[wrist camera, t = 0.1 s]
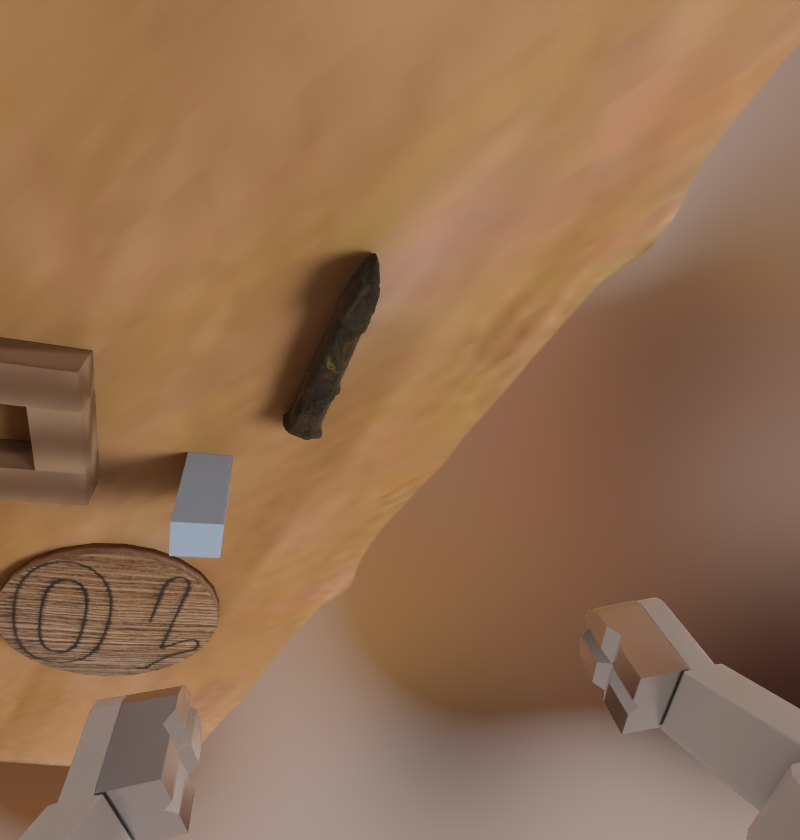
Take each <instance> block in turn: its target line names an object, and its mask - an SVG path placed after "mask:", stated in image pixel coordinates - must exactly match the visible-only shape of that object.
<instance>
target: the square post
mask: <svg viewBox="0 0 800 840" xmlns="http://www.w3.org/2000/svg"><path fill="white" fill-rule="evenodd" d="M232 461H233V456H226V455H215V454H205V453H194V452H188V454H187V458H186V462H185V466H184V470H183V474H182V478H181V482H180V486H179V490H178V494H177V498H176V502H175V506H174V510H173V514H172V518H171V522H170V545H169V556H183V557H211V558H220V553H221V546H222V538H223V531H224V523H225V516H226V508H227V501H228V493H229V486H230V478H231V469H232Z"/></svg>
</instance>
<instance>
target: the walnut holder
mask: <svg viewBox="0 0 800 840" xmlns="http://www.w3.org/2000/svg"><path fill="white" fill-rule="evenodd" d="M0 404H6V405H15V406H24V407H26V409H27V416H28V423H29V430H30V437H31V442H27V441H16V440H5V439H0V500H11V501H27V502H43V503H60V504H76V505H88V503H89V500H90V498H91V496H92V494H93V491H94V489H95V487H96V485H97V483H98V480H99V460H98V442H97V424H96V405H95V387H94V369H93V351H92V350H85V349H78V348H71V347H64V346H57V345H50V344H43V343H36V342H29V341H22V340H15V339H8V338H1V337H0Z"/></svg>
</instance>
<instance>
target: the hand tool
mask: <svg viewBox="0 0 800 840" xmlns="http://www.w3.org/2000/svg"><path fill="white" fill-rule="evenodd" d="M379 284H380V274H379V262H378V258H377V255H376V254H375V253H373V254H371V255H370V256H369V257H368V258H367V259H366V260H365V261H364V262H363V263H362V265H361V266H360V267H359V269H358V270H357V272H356V273H355V274H354V275H353V277H352V278H351V280H350V282H349V284H348V286H347V287H346V288H345V290H344V291H343V293H342V295H341V296H340V298H339V302H338V307H337V309H336V312H335V315H334V317H333V319H332V321H331V323H330V325H329V327H328V329H327V331H326V333H325V336H324V338H323V340H322V342H321V344H320V346H319V348H318V350H317V353H316V356H315V358H314V360H313V363H312V365H311V367H310V368H309V370H308V373H307V375H306V376H305V378H304V380H303V383H302V387H301V389H300V391H299V395H298V397H297V399H296V401H295V404H294V405H293V408H292V410H291V411H289V412H287V413H285V414H284V415H283V426H284V427H285V430H286V431H287V432H288V433H290V434H292V435H295V436H297V437H300V438H303V439H304V440H309V439H316V438H321V436H322V427H321V426H322V421H323V419H324V417H325V414H326V413H327V410H328V408H329V405H330V403H331V402H332V401H333V399H334V398H335V396H336V395H338V394H339V392H340V381H341V379H342V377H343V374H344V372H345V370H346V368H347V366H348V363H349V361H350V359H351V356H352V354H353V352H354V349H355V347H356V345H357V343H358V340H359V338H360V336H361V334H362V333H365V331H366V329H367V327H368V325H369V323H370V320H371V316H372V315H373V313H374V312H375V307H376V304H377V302H378V298H379V294H380V287H379Z"/></svg>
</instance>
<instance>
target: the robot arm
mask: <svg viewBox="0 0 800 840" xmlns="http://www.w3.org/2000/svg"><path fill="white" fill-rule="evenodd" d="M585 622H586V624H587V626H588V627H589V628H588V629H587V630H586V632H585V633H584V634H583V635H582V636H581V643H580V651H581V657H582V661H583V663H584V666H585V669H586V671H587V673H588V675H589V677H590V678H591V680H592V682H594V683H595V684H596V685H598V686H599V687H601V688H602V689H604V690H605V693H604V704H605V706H606V707H607V709H608V711H609V712H610V715H611V716H612V718H613V720H614V722H615V723H616V725H617V727H618V729H619V730H620V732H621V734H627V733H632V732H637V731H643V730H648V729H653V728H658V727H662V728H661V730H662V731H663V732H665V733H666V734H667V735H668V736H670V737H671V738H672V739H673V740H674V741H675V742H677V743H678V744H679V745H680V746H682V747H683V748H684V749H685V750H686V751H688V752H689V753H690V754H691V755H692V756H694V757H695V758H696V759H697V760H698V761H700V762H701V763H702V764H703V765H704V766H706V767H707V768H708V769H710V771H712V772H713V773H714V774H715V775H717V776H718V777H719V778H720V779H721V780H723V781H724V782H725V783H726V784H727V785H729V786H730V787H731V788H732V789H734V790H735V791H736V792H737V793H738V794H740V795H741V796H742V797H743V798H744V799H746V800H747V801H748V802H749V803H750V804H752V805H753V806H754V807H755V808H757V809H758V810H759V811H760V812H759V814H758V815H757V817H756V818H755V820H754V821H753V823H752V824H751V826H750V827H749V829H748V832H747V840H800V709H799V708H797V707H795V706H794V705H792V704H790V703H789V702H787V701H785V700H783V699H782V698H780V697H778V696H776V695H775V694H773V693H771V692H769V691H768V690H766V689H764V688H763V687H761V686H759V685H757V684H756V683H754V682H752V681H750V680H749V679H747V678H745V677H744V676H742V675H740V674H738V673H737V672H735V671H733V670H731V669H730V668H728V667H726V666H725V665H723V664H717V665H715V664H714V663H713V662H712V661H711V660H710V658H709V657H708V656H707V655H706V653H705V652H704V651H703V650H702V649H701V647H700V646H699V645H698V644H697V642H696V641H695V640H694V639H693V637H692V636H691V635H690V634H689V633H688V631H687V630H686V629H685V628H684V626H683V625H682V624H681V623H680V622H679V620H678V619H677V618H676V617H675V616H674V614H673V613H672V612H671V611H670V609H669V608H668V607H667V606H666V604H665V603H664V602H663V601H662V600H660V599H658V598H649V599H645V600H640V601H635V602H632V601H631V602H626V603H621V604H616V605H611V606H607V607H601V608H596V609H591V610H590V611H589V612H588V613H587V615H586V619H585ZM190 698H191V694H190V692H189V690H188V688H187V686H186V685H184V686H178V687H172V688H166V689H161V690H155V691H149V692H143V693H137V694H131V695H124V696H118V697H113V698H108V699H102V700H98V701H97V702H96V704H95V705H94V706H93V708H92V709H91V711H90V713H89V716H88V719H87V722H86V724H85V727H84V730H83V733H82V736H81V739H80V741H79V744H78V747H77V750H76V753H75V755H74V758H73V761H72V764H71V767H70V769H69V773H68V775H67V778H66V781H65V784H64V786H63V789H62V792H61V795H60V798H59V800H58V803H56V804H52V805H48V806H47V807H46V808H45V809H44V811H43V812H42V813H41V814H40V815H39V816H38V817H37V819H36V820H35V821H34V822H33V823H32V824H31V826H30V827H29V828H28V829H27V830H26V831H25V832H24V834H23V835H22V836H21V837H20V838H19V839H18V840H162V839H166V838H169V837H174V836H177V835H181V834H185V833H188V830H189V824H190V817H191V810H192V804H193V797H194V791H195V790H194V787H193V785H192V783H191V781H190V778H189V776H190V775H191V773H192V772H193V770H194V769H195V768H196V766H197V765H198V764H199V757H200V749H201V724H200V718H199V715H198V712H197V709H195V708H193V707H190V706H189V704H190Z"/></svg>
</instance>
